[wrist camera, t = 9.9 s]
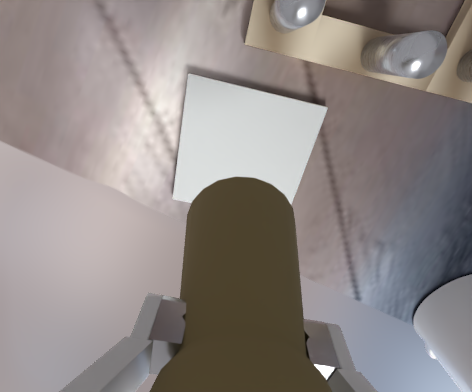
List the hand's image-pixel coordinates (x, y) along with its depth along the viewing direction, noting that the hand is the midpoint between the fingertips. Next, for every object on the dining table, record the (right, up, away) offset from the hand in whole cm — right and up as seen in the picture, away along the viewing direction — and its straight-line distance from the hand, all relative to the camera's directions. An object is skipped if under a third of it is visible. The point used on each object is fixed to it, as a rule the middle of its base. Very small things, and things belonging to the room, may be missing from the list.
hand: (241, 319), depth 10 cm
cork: (0, +3, +5) cm, 6 cm away
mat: (0, +8, +16) cm, 18 cm away
